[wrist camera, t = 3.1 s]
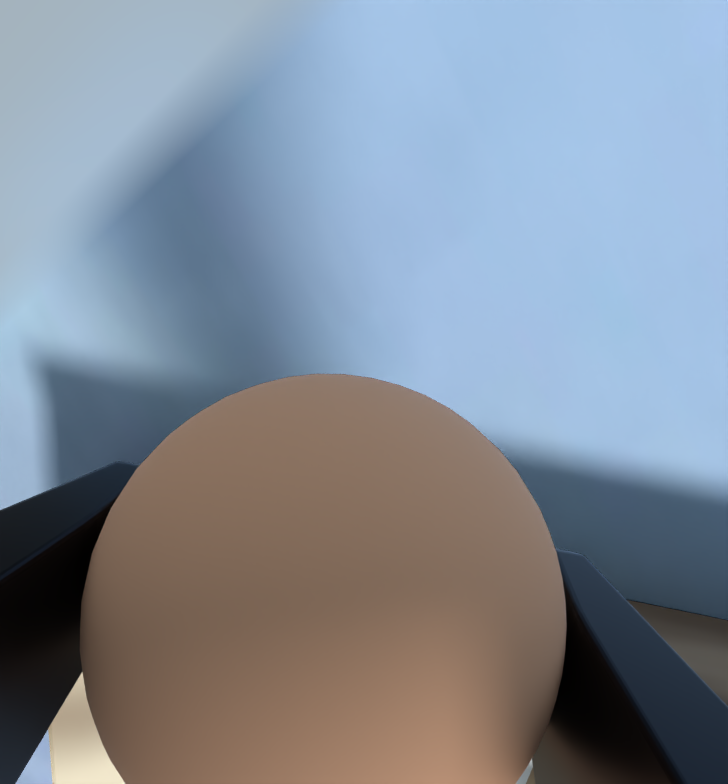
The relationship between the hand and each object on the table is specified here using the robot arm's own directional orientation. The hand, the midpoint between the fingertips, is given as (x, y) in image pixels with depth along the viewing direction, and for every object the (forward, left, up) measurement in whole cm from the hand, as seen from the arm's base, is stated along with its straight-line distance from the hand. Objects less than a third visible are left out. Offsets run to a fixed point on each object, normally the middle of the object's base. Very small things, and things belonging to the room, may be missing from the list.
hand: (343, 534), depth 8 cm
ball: (0, 0, +1) cm, 1 cm away
